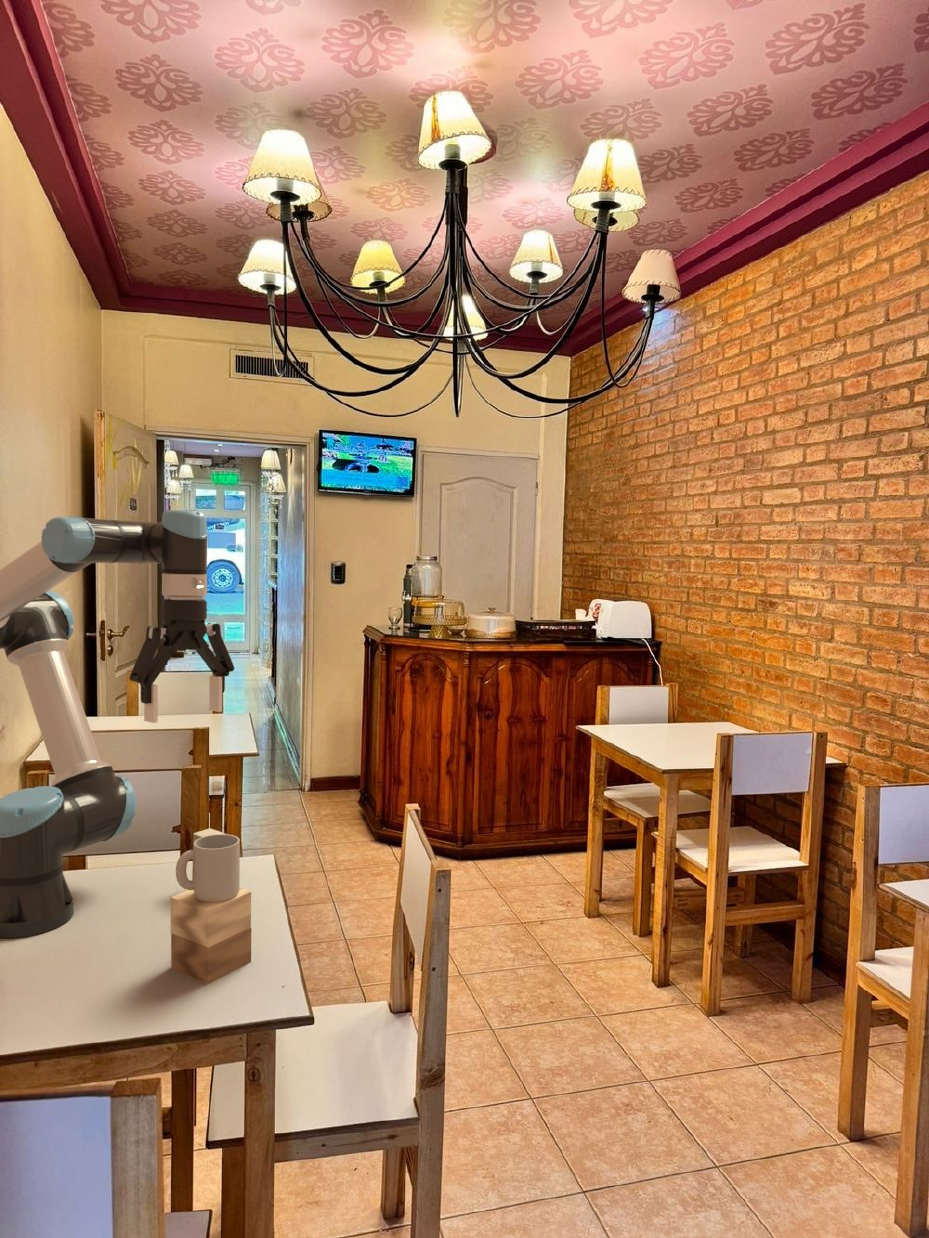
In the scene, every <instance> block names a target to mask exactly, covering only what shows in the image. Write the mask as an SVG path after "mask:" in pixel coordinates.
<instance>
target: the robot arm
mask: <svg viewBox="0 0 929 1238" xmlns="http://www.w3.org/2000/svg"><path fill="white" fill-rule="evenodd" d="M161 517H162V518H161V521H160V522H157V521H138V520H136V521H132V520H119V519H118V520H115V519H102V518H88V517H80V516H76V515H75V516H61V517H60V516H59V517H58V516H57V517H54V518H51V519H49V520H48V521H47V522H46V523H45V528H43V529H42V532H41V541H40V542H38V543H36V544H35V545H34V546H33V547H31V548H30V549H28V550H26V551H25V552H24V553H23V554H21V555H19V556H18V557H17V558H15V559H14V560H12V561H10V562H9V563H7V564H5V566H4V567H2V568H0V649H1V650H2V649H3V651H4V653H5V656H6V659H7V661H8V663H10V664H12V665H16V666H17V667H18V668H19V671H20V673H21V676H22V680H23V683H24V686H25V689H26V691H27V695H28V697H29V700H30V704H31V707H32V710H33V713H34V716H35V719H36V722H37V724H38V728H39V730H40V734H41V737H42V739H43V742H44V747H45V749H46V751H47V754H48V758H49V761H50V765H51V767H52V769H53V773H54V776H55V777H54V779H53V781H52V783H51V785H39V786H35V787H33V788H32V787H31V788H30V787H28V788H22V789H19V790H16V791H14V792H11V793H8V794H6V795H4V796H2V797H1V798H0V939H1V938H2V939H8V938H9V939H10V938H11V939H13V938H23V937H24V938H25V937H30V936H34V935H38V934H43V933H45V932H49V931H52V930H54V929H56V928H59V927H61V926H62V925H64V924H65V923H67V922H68V921H70V920H71V919H72V918H73V915H74V913H75V908H74V907H75V906H74V905H75V902H74V898H73V895H72V893H71V890H70V888H69V885H68V882H67V880H66V877H65V875H64V855H65V854H68V853H70V852H73V851H76V850H79V849H83V848H85V847H88V846H92V845H95V844H97V843H100V842H107V841H109V840H111V839H112V838H114V837H118V836H120V835H122V834H124V833H125V832H126V831H128V829H129V828H130V827H131V826H132V824H133V822H134V819H135V816H136V814H137V809H138V808H137V807H138V805H137V804H138V803H137V801H138V800H137V795H136V794H137V793H136V791H135V788H134V786H133V784H132V783H131V781H130V780H128V779H127V777H125V776H121V775H116V774H115V772H114V771H115V770H114V769H113V766H112V764H110V763H107V762H105V761H103V760H102V758H101V756H100V754H99V749H98V748H97V745H96V742H95V738H94V736H93V733H92V730H91V727H90V724H89V721H88V719H87V718H88V717H87V715H86V713H85V710H84V707H83V704H82V701H81V698H80V696H79V691H78V689H77V687H76V683H75V681H74V677H73V675H72V672H71V669H70V666H69V664H68V661H67V657H66V654H65V652H66V651H67V650H68V649H69V646H70V641H69V640H70V638H71V637H72V636H73V632H74V629H75V627H74V626H73V624H75V618H74V614H73V611H72V608H71V605H69V603H68V601H67V600H66V599H65V597H63V596H62V595H61V594H59V593H57V592H55V591H53V590H52V589H53V588H55V587H56V586H57V585H59V584H60V583H63V582H64V581H65V580H67V579H69V578H70V577H72V576H73V575H75V574H76V573H77V572H79V571H81V570H82V569H85V568H87V566H90V565H92V564H95V563H99V564H105V563H106V564H113V563H114V564H116V563H117V564H118V563H120V564H138V565H139V564H140V565H141V564H161V565H162V569H161V576H162V577H161V585H162V586H161V595H162V596H163V597H165V598H164V599H163V600H162V602H161V607H162V608H161V616H162V621H163V626H162V627H159V626H152V625H151V626H150V625H149V626H147V628H146V633H145V640H144V642H143V643H142V644H143V645H142V647H141V649H140V652H139V654H138V656H137V659H136V661H135V664H134V666H133V668H132V670H131V672H130V675H129V681H131V682H135V683H137V684H139V685H140V702H141V703H142V704H144V705H143V709H144V710H143V715H144V719H143V720H144V722H149V723H151V724H155V723H158V719H159V717H158V708H159V707H158V706H159V703H158V702H159V701H158V696H159V695H158V692H159V691H158V689H159V688H158V684H154V683H155V681H156V679H157V678H158V677H159V675H160V674H161V672H162V671H163V670H164V668H165V667H166V665H167V664H168V663H169V661H170V660H171V658H172V656H173V655H175V654H177V652H178V651H179V652H185V651H187V650H188V651H189V650H190V651H196V653H197V654H198V656H199V657H200V658H201V660H202V661H203V662H204V663H205V665H206V666H207V667H208V668H209V670H210V671H211V672H212V673H213V674H211V675H209V678H208V679H209V685H208V686H209V690H208V691H209V696H208V697H209V703H208V705H209V708H208V711H213V712H216V713H217V712H218V713H220V712H223V693H225V690H226V687H225V686H226V685H225V684H226V677H228V676H229V675H230V673H231V672H234V670H235V666H234V664H233V663H234V662H233V660H232V658H231V656H230V654H229V651H228V648H227V646H226V644H225V642H224V638H223V637H222V632H221V625H220V624H219V623H215V622H208V623H206V621H205V620H206V619H207V617H208V616H207V615H208V602H207V600H206V599H204V597H206V596H207V594H208V593H207V591H208V589H207V588H208V585H207V584H208V581H207V580H208V571H207V570H208V568H207V567H208V565H207V564H208V538H209V535H208V526H207V525H208V523H207V522H208V521H207V517H206V514H204V513H203V511H202V512H201V511H197V510H183V509H182V510H179V509H177V510H176V509H171V510H170V509H169V510H165V511H164V512H163V513H162V515H161ZM205 636H207V639H208V641H209V643H208V642H207V641H206V639H205V638H204V637H205ZM163 638H164V640H163V641H162V642H161V640H162V639H163ZM160 642H161V644H160ZM209 644H210V645H209ZM159 645H160V646H159ZM210 646H211V648H212V650H211V649H210ZM158 648H159V649H158ZM157 650H158V651H157Z"/></svg>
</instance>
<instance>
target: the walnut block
mask: <svg viewBox="0 0 929 1238" xmlns="http://www.w3.org/2000/svg"><path fill="white" fill-rule="evenodd" d="M170 950H171V951H170V968H172V969H173V970H175V971H178V972H180V973H182V974H184V975H186V976H188V977H190V978H192V979H195V980H197V981H199V982H201V983H204V984H206V985H209V984H211V983H214V982H215V981H217V980H218V979H220V978H223V977H224V976H226V975H228V974H230V973H232V972H234V971H236V970H238V969H240V968H242V967H244V966H246V965H248V964H250V963H251V962H252V926H251V927H249V928H247V929H245V930H243V931H241V932H239V933H237V934H235V935H233V936H231V937H229V938H227V939H225V940H223V941H221V942H219V943H217V944H215V945H213V946H211V947H209V948H207V947H205V946H202V945H200V944H197V943H195V942H192V941H190V940H187V939H185V938H182V937H180V936H177V935H175V934H172V933H171V932H170Z"/></svg>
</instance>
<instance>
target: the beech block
mask: <svg viewBox="0 0 929 1238" xmlns="http://www.w3.org/2000/svg"><path fill="white" fill-rule="evenodd" d="M249 927H251V928H252V891H250V890H248V889H243V888H241V887H239V892H238V894H237V895H236V896H235V897H234V898H232V899H230V900H227V901H224V902H217V903H207V902H202V901H199V900H198V899H196V897H195V895H194V890H185V891H182V892H180V893H177V894H175V895H173V896H170V934H171V933H172V934H175V935H177V936H180V937H182V938H185V939H187V940H190V941H192V942H195V943H197V944H200V945H202V946H205V947H207V948H209V947H211V946H213V945H215V944H217V943H219V942H221V941H223V940H225V939H227V938H229V937H231V936H233V935H235V934H237V933H239V932H241V931H243V930H245V929H247V928H249Z"/></svg>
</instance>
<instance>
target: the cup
mask: <svg viewBox="0 0 929 1238" xmlns="http://www.w3.org/2000/svg"><path fill="white" fill-rule="evenodd" d="M240 842H241V839H240V838H239V836H236V835H233V834H227V833H225V834H216V835H209V836H205V837H202V838H199V839H197V840H196V841H195V842H194V849H193V848H192V849H189V850H186V851H184V852H183V853H182V854H181V855H180V856H179V858H178V860H177V862H176V865H175V878H176V881H177V883H178V885H179V886H180V887H181V888H182V889H184V890H185V891H187V890H194V895H195V897H196V899H198V900H199V901H202V902H207V903H217V902H224V901H227V900H230V899H232V898H234V897H235V896H236V895H237V894H238V892H239V888H240V879H241V878H240V873H241V871H240V867H241V865H240V864H241V863H240V862H241V861H240V856H241V855H240V853H241V851H240V850H241V849H240V848H241V845H240V844H241V843H240ZM193 859H194V880H193V881H192V880H190V879H189V878H188V874H187V867H188V863H189V861H190V860H193Z"/></svg>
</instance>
